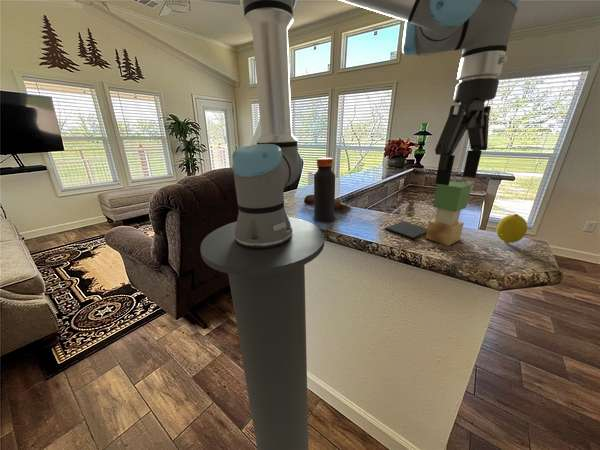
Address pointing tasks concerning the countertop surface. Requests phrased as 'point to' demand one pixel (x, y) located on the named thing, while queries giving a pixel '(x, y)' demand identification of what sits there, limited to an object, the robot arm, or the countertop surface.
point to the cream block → (447, 216)
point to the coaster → (407, 229)
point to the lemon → (511, 228)
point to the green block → (452, 196)
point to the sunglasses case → (337, 204)
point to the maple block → (444, 232)
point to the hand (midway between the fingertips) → (456, 180)
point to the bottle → (324, 190)
